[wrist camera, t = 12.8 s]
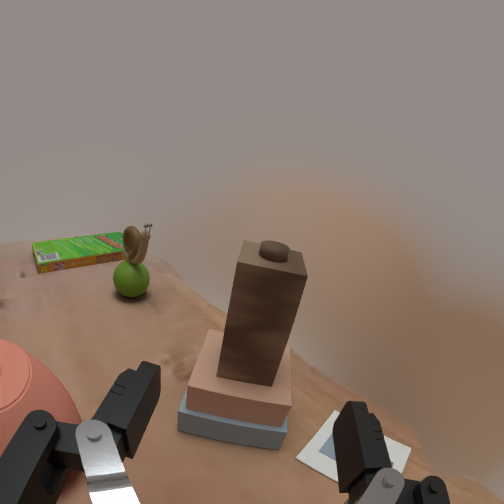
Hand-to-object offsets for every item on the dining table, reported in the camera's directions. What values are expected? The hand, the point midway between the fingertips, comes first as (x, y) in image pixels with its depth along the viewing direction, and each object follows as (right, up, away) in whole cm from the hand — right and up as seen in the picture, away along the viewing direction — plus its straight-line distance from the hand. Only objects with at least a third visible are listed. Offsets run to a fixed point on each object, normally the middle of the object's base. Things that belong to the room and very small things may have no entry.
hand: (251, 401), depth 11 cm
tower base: (-2, -9, +15) cm, 17 cm away
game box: (-32, +5, +38) cm, 50 cm away
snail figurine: (-18, -1, +30) cm, 34 cm away
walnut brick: (0, -3, +13) cm, 13 cm away
